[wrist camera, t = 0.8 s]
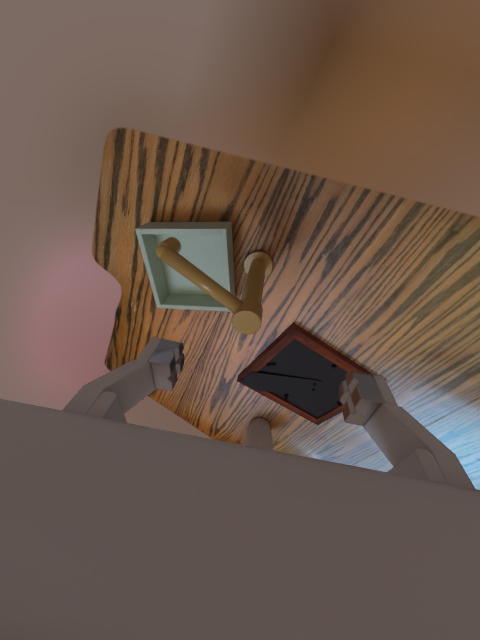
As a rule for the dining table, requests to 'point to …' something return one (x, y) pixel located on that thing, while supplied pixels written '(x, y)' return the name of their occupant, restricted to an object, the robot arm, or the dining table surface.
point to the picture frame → (300, 374)
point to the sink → (198, 248)
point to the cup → (259, 435)
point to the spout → (213, 288)
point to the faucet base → (256, 274)
